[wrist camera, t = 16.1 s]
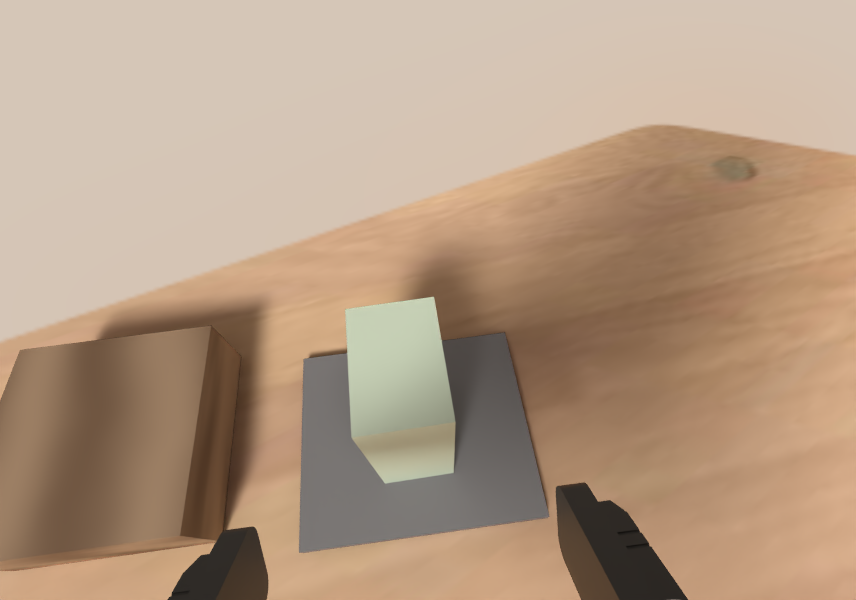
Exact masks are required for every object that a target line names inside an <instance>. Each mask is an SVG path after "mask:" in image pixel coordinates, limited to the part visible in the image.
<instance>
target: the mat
mask: <svg viewBox="0 0 856 600" xmlns="http://www.w3.org/2000/svg"><path fill="white" fill-rule="evenodd" d="M442 346H443V352H444V358H445V363H446V369H447V375H448V381H449V387H450V392H451V398H452V404H453V410H454V416H455V421H456V425H455V452H454V473H450V474H444V475H437V476H431V477H424V478H418V479H412V480H405V481H399V482H392V483H386V484H385V483H384V481H383V480H382V479H381V477H380V476H379V475H378V473H377V472H376V471H375V469H374V468H373V466H372V465H371V464H370V462H369V461H368V460H367V458H366V457H365V456H364V454H363V453H362V451H361V450H360V449H359V447H358V446H357V445H356V443H355V442H354V441H353V439H352V438H351V418H350V397H349V377H348V356H347V353H345V354H337V355H330V356H322V357H314V358H307V359H304V366H303V408H302V450H301V492H300V535H299V553H306V552H313V551H320V550H327V549H334V548H341V547H348V546H355V545H362V544H369V543H376V542H383V541H390V540H396V539H403V538H410V537H417V536H424V535H431V534H438V533H445V532H452V531H459V530H466V529H473V528H480V527H487V526H494V525H501V524H508V523H515V522H522V521H529V520H536V519H543V518H548V517H549V513H548V509H547V505H546V501H545V497H544V493H543V489H542V484H541V480H540V476H539V472H538V468H537V464H536V460H535V455H534V451H533V447H532V443H531V439H530V435H529V431H528V426H527V422H526V418H525V414H524V410H523V406H522V402H521V397H520V393H519V389H518V385H517V381H516V377H515V373H514V368H513V364H512V360H511V356H510V352H509V348H508V344H507V339H506V335H505V333H497V334H490V335H482V336H475V337H467V338H459V339H452V340H444V341H442Z"/></svg>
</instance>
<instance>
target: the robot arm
mask: <svg viewBox="0 0 856 600" xmlns="http://www.w3.org/2000/svg"><path fill="white" fill-rule="evenodd" d="M556 504H557V522H558V537H559V543H560V548H561V552H562V555H563V558H564V561H565V563H566V566H567V568H568V570H569V572H570V575H571V577H572V579H573V582H574V584H575V586H576V589H577V591H578V593H579V595H580V598H581V600H688V599H687V597H686V596H685V595H684V593H683V592H682V590H681V589H680V587H679V586H678V585H677V583H676V582H675V580H674V579H673V577H672V576H671V574H670V573H669V572H668V570H667V569H666V567H665V566H664V564H663V563H662V562H661V560H660V559H659V557H658V556H657V554H656V553H655V552H654V550H653V549H652V547H650V546H649V543H648V541H647V540H646V539H645V537H644V536H643V534H642V533H640V531H639V529H638V527H637V526H636V524H635V523H634V521H633V520H632V519H631V517H630V516H629V514H628V513H627V512H626V511H624V510H623V509H621V508H620V507H619V506H617V505H616V504H615V503H613V502H612V501H610V500H609V501H601V502H598V501H597V499H596V498H595V496H594V495H593V493H592V492H591V490H590V488H589V487H588V485H587V484H586V483H576V484H569V485H562V486H557V487H556ZM267 594H268V574H267V569H266V565H265V561H264V557H263V553H262V549H261V545H260V541H259V537H258V533H257V530H256V529H255V527H246V528H239V529H231V530H225V531H223V532H222V533H221V534H220V536H219V538H218V540H217V541H216V543H215V545H214V547H213V549H212V551H211V552H210V554H207V555H201V556H200V557H199V558H198V559H197V560H196V561H195V562H194V563H193V564H192V565H191V566H190V567H189V568H188V569H187V570H186V571H185V572H184V573H183V574H182V576H181V578H180V580H179V581H178V583H177V585H176V586H175V588H174V590H173V592H172V596H171V597H169V599H168V600H266V599H267Z"/></svg>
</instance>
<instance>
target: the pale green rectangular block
mask: <svg viewBox="0 0 856 600" xmlns="http://www.w3.org/2000/svg"><path fill="white" fill-rule="evenodd" d="M345 315H346V335H347V356H348V377H349V397H350V418H351V438H352V439H353V441H354V442H355V443H356V445H357V446H358V447H359V449H360V450H361V451H362V453H363V454H364V456H365V457H366V458H367V460H368V461H369V462H370V464H371V465H372V466H373V468H374V469H375V471H376V472H377V473H378V475H379V476H380V477H381V479H382V480H383V481H384V483H385V484H386V483H392V482H399V481H405V480H412V479H418V478H424V477H431V476H437V475H444V474H450V473H454V452H455V425H456V421H455V416H454V410H453V404H452V398H451V392H450V387H449V381H448V375H447V369H446V363H445V358H444V352H443V346H442V340H441V334H440V329H439V323H438V317H437V311H436V306H435V300H434V297H428V298H421V299H414V300H407V301H400V302H393V303H386V304H378V305H371V306H364V307H357V308H350V309H345Z"/></svg>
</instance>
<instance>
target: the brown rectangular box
mask: <svg viewBox="0 0 856 600" xmlns="http://www.w3.org/2000/svg"><path fill="white" fill-rule="evenodd" d="M240 363H241V356H240V355H239V354H238V353H237V352H236V351H235V350H234V349H233V348H232V347H231V346H230V345H229V343H228V342H227V341H226V340H225V339H224V338H223V337H222V336H221V335H220V334H219V333H218V332H217V331H216V330H215V329H214V328H213V327H212V326H204V327H196V328H188V329H181V330H173V331H165V332H157V333H149V334H142V335H134V336H126V337H118V338H110V339H103V340H95V341H87V342H79V343H71V344H64V345H56V346H48V347H40V348H32V349H24V350H20V352H19V354H18V357H17V359H16V362H15V364H14V367H13V369H12V372H11V375H10V377H9V380H8V382H7V385H6V387H5V390H4V393H3V395H2V398H1V400H0V571H17V570H24V569H31V568H39V567H46V566H53V565H60V564H67V563H74V562H81V561H88V560H95V559H102V558H109V557H116V556H123V555H130V554H137V553H144V552H151V551H158V550H165V549H172V548H179V547H186V546H193V545H201V544H208V543H215V542H216V541H217V540H218V538H219V536H220V534H221V533H222V532H223V526H224V517H225V507H226V497H227V488H228V478H229V469H230V459H231V449H232V440H233V430H234V420H235V411H236V401H237V391H238V382H239V372H240Z"/></svg>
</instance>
